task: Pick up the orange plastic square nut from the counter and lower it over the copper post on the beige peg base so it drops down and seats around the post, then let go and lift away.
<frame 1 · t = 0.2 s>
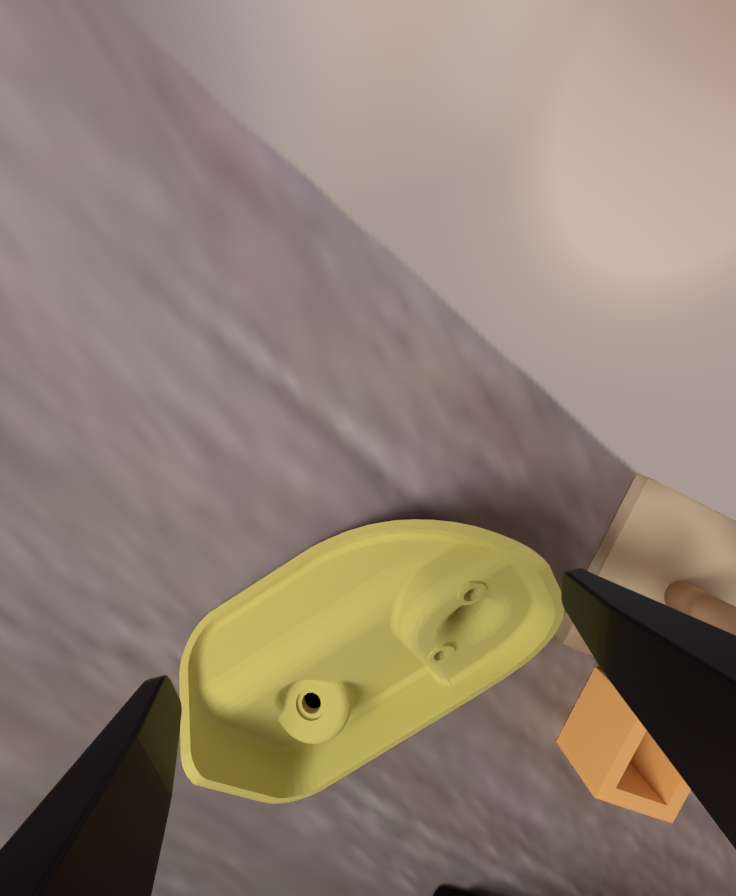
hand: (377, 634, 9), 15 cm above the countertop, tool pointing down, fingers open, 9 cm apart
beige peg base: (665, 587, 28), on the countertop
plastic component: (367, 622, 26), on the countertop
orange nut: (610, 717, 28), on the countertop
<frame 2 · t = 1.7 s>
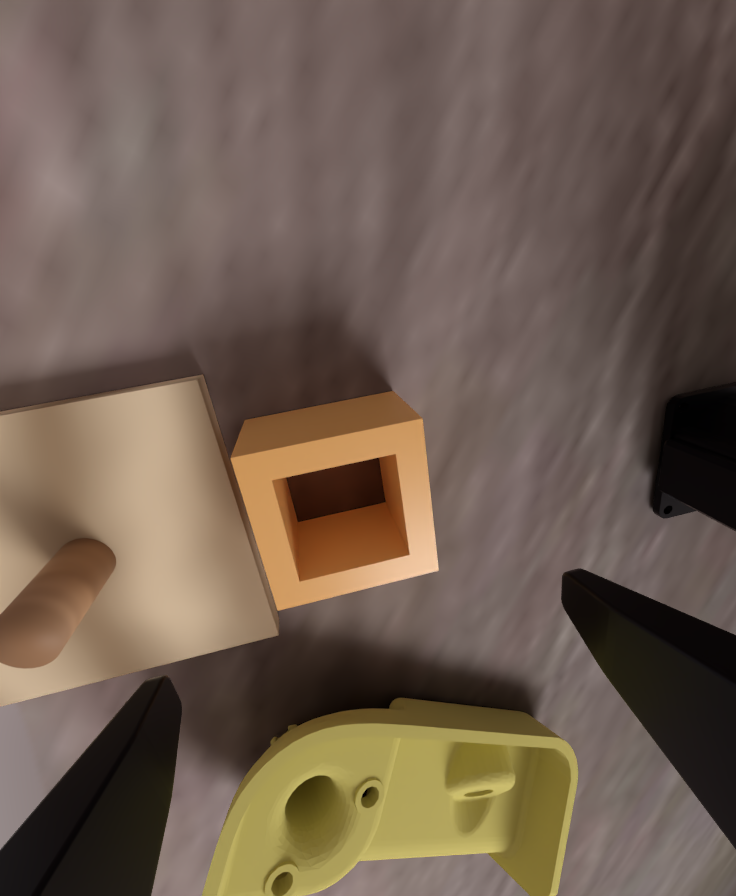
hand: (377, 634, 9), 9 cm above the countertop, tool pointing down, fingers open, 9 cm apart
beige peg base: (98, 545, 16), on the countertop
plastic component: (391, 737, 24), on the countertop
orange nut: (334, 472, 17), on the countertop
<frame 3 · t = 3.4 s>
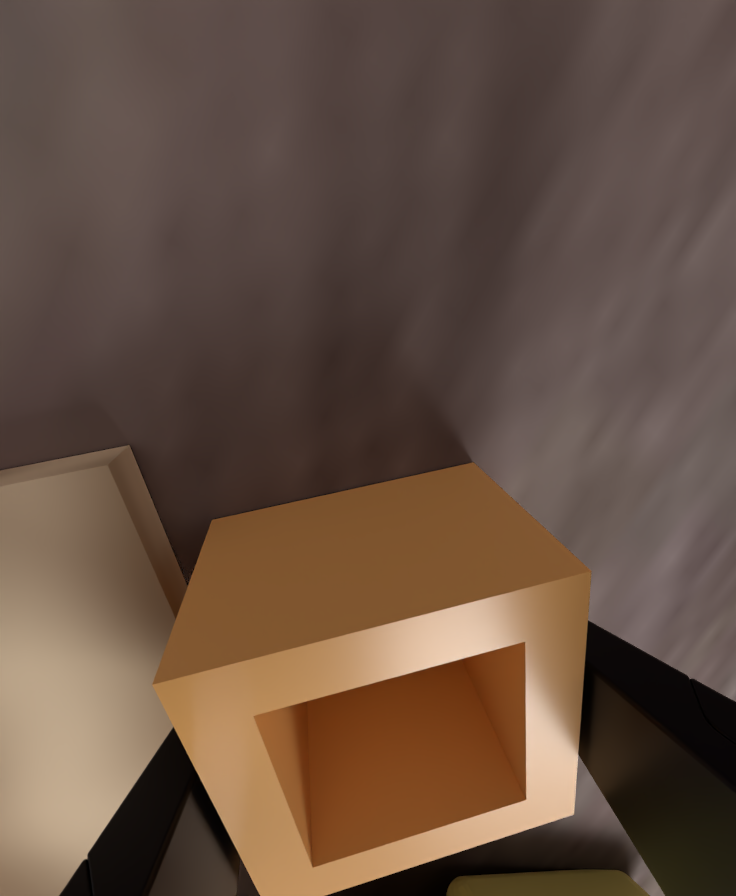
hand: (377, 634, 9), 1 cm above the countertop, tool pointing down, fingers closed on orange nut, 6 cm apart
orange nut: (367, 593, 10), on the countertop, touching gripper
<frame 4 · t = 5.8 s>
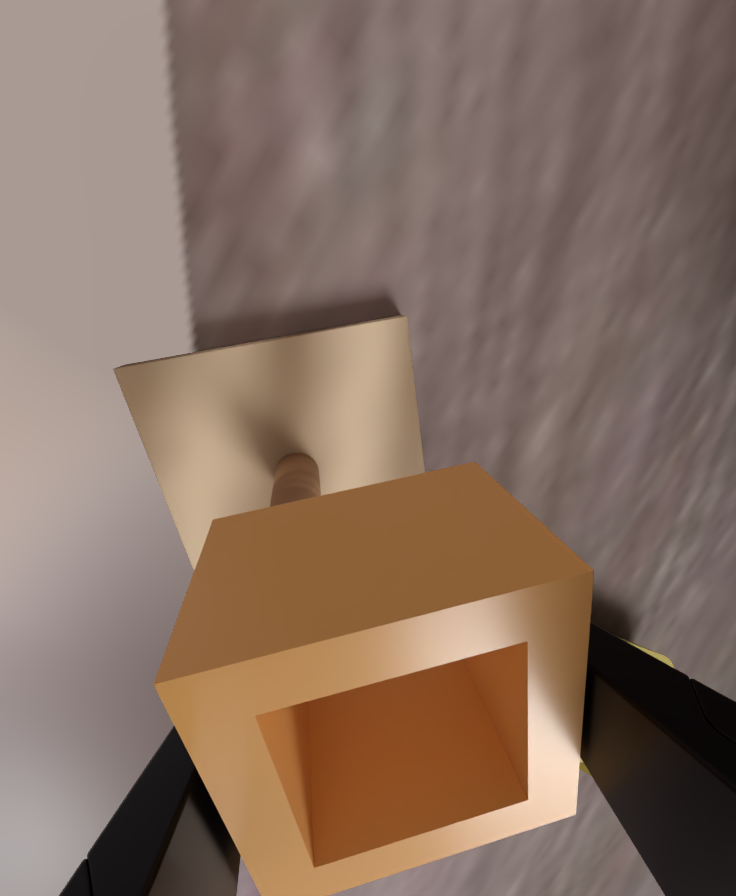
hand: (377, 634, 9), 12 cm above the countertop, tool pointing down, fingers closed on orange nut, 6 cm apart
beige peg base: (297, 464, 20), on the countertop
orange nut: (368, 593, 10), point 10 cm above the countertop, touching gripper
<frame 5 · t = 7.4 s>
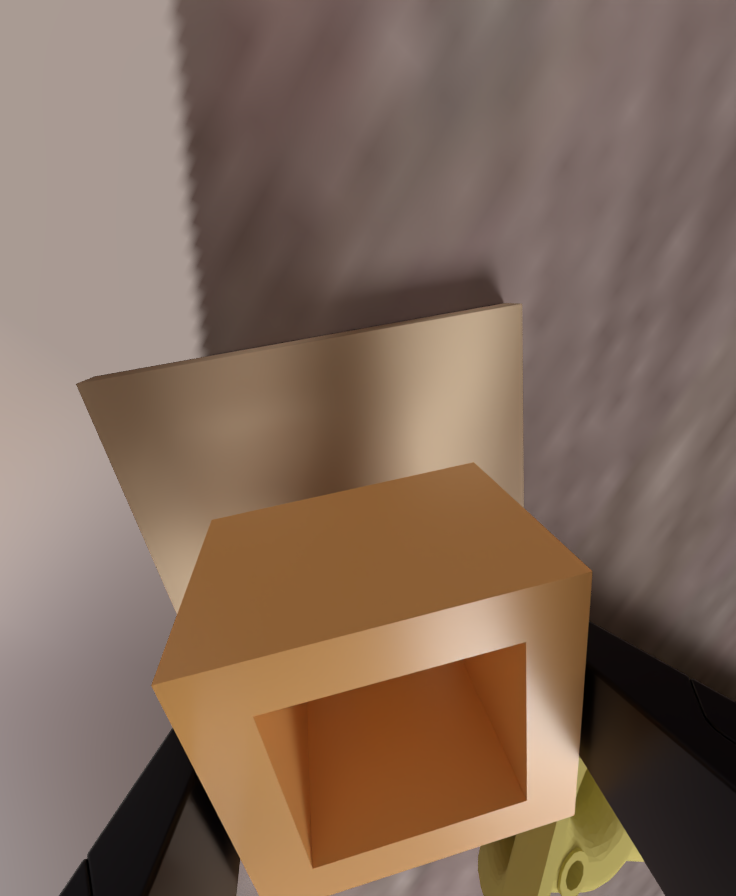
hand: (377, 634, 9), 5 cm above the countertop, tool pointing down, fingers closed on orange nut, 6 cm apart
beige peg base: (346, 514, 14), on the countertop
plastic component: (595, 721, 21), on the countertop
orange nut: (367, 593, 10), point 4 cm above the countertop, touching gripper
when the fingers open (5 cm above the countertop, at t = 8.2 s): orange nut drops 3 cm, resting on beige peg base.
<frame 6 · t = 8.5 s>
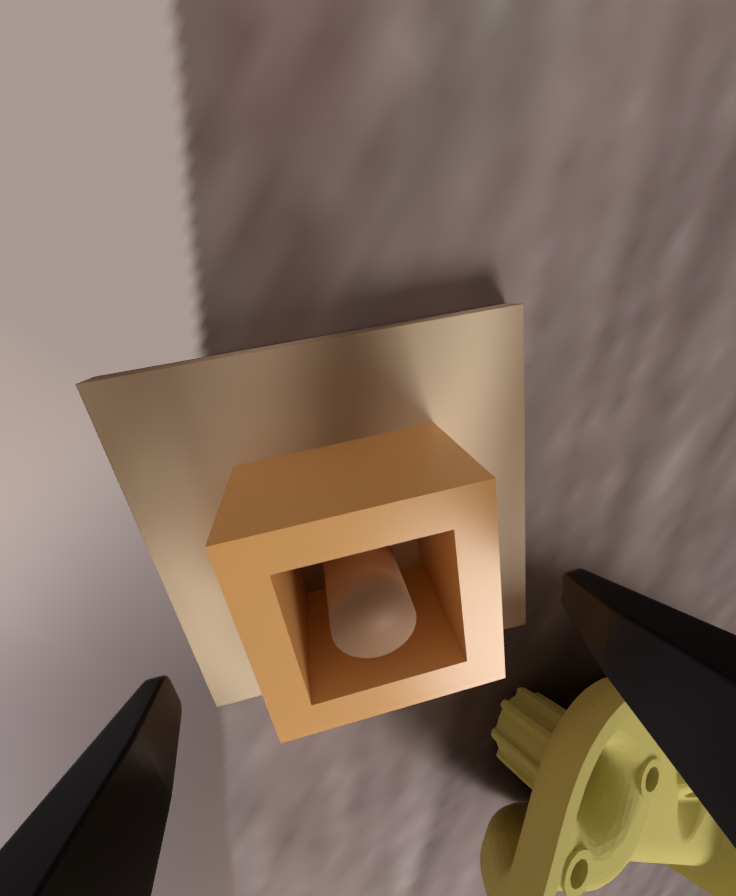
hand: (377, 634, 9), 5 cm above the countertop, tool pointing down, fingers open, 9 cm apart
beige peg base: (347, 515, 14), on the countertop
plastic component: (597, 720, 21), on the countertop
orange nut: (354, 529, 13), point 1 cm above the countertop, touching beige peg base
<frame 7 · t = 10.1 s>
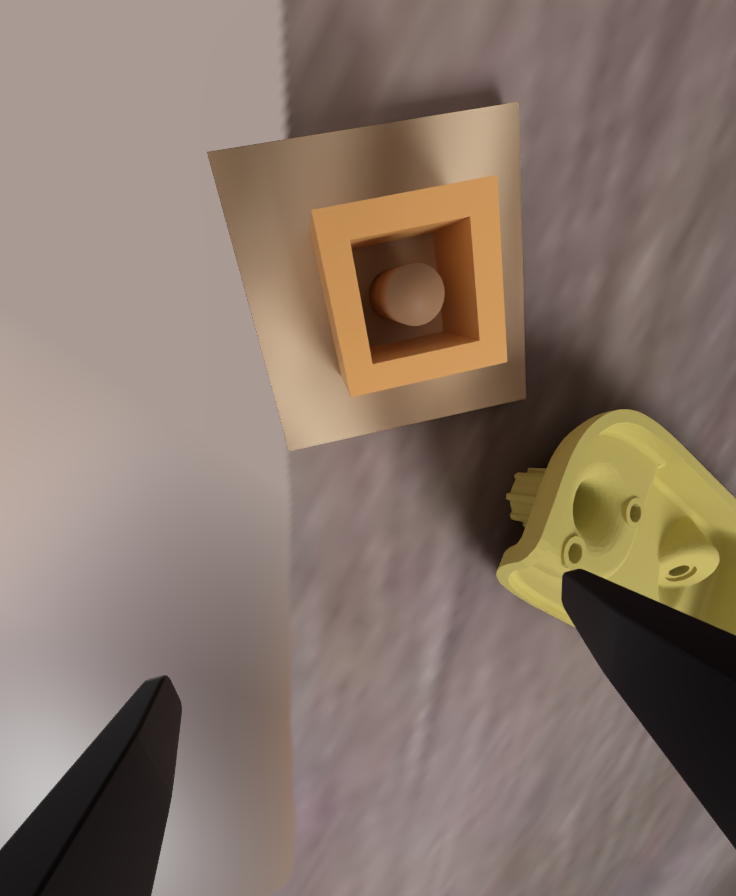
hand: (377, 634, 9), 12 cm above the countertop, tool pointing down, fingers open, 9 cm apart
beige peg base: (387, 294, 18), on the countertop
plastic component: (593, 520, 25), on the countertop
orange nut: (394, 293, 17), point 1 cm above the countertop, touching beige peg base
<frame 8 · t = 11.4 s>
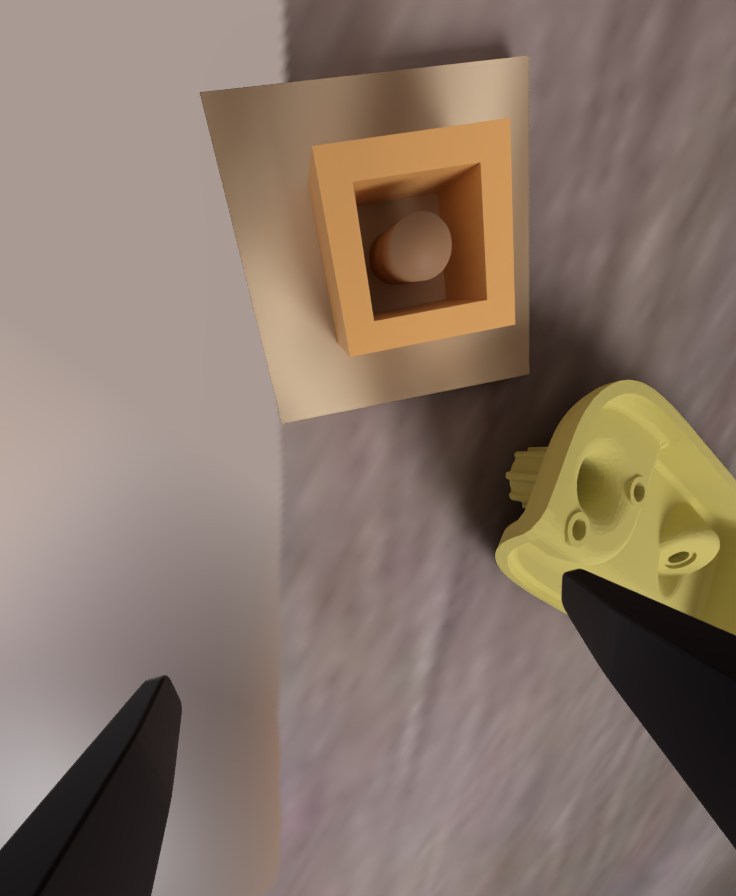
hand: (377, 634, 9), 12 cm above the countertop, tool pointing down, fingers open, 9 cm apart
beige peg base: (388, 259, 17), on the countertop
plastic component: (592, 505, 25), on the countertop
orange nut: (395, 256, 16), point 1 cm above the countertop, touching beige peg base
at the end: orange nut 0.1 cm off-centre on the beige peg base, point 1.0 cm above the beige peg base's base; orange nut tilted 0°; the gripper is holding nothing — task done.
